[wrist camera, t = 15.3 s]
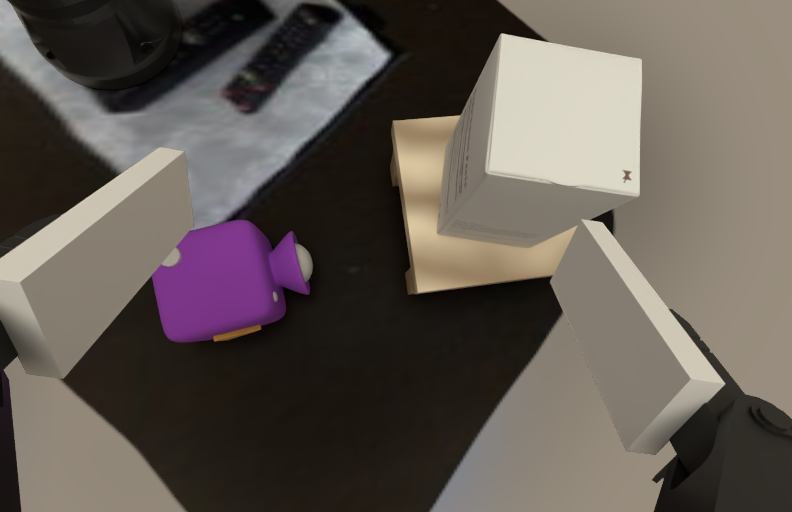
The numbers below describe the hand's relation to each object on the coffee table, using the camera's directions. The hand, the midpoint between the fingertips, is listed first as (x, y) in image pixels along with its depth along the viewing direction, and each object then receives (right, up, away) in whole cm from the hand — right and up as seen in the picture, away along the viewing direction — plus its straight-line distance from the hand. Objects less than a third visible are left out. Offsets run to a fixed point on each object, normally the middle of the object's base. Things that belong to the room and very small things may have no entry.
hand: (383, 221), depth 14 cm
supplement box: (+9, +4, +24) cm, 26 cm away
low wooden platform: (+8, +3, +34) cm, 35 cm away
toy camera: (-15, -4, +30) cm, 34 cm away
